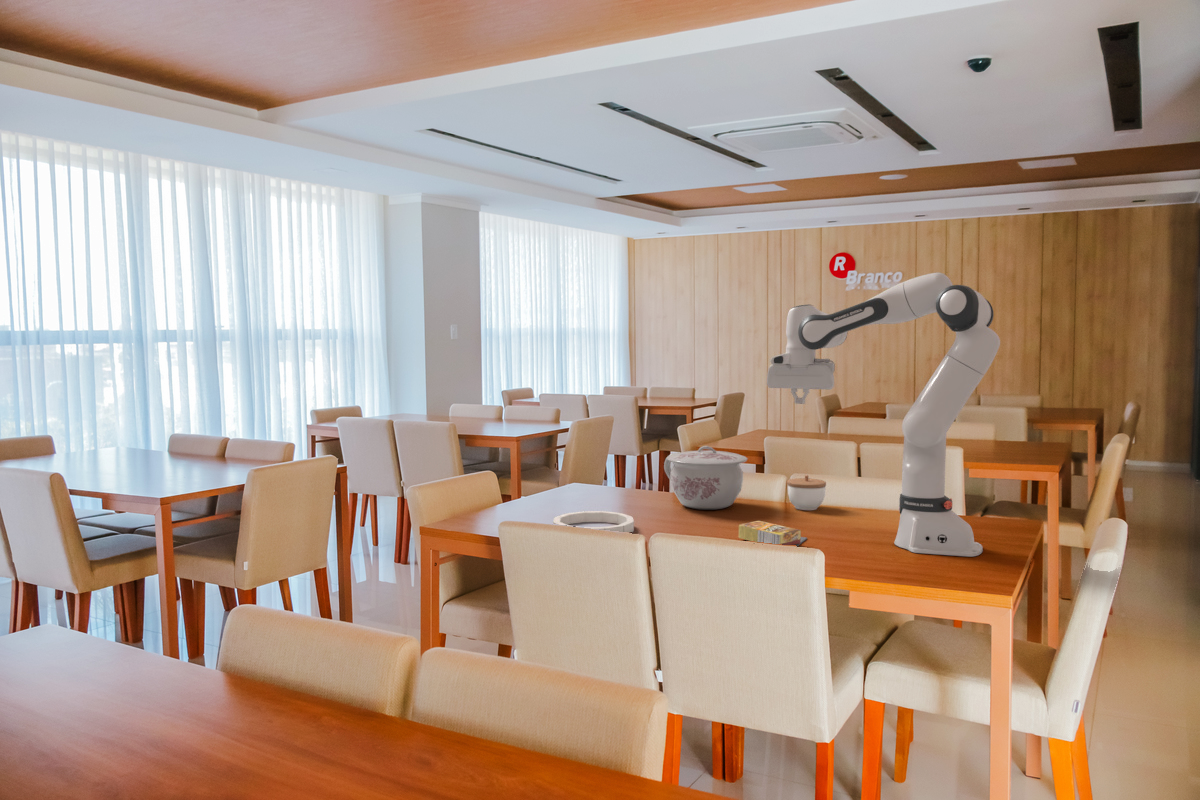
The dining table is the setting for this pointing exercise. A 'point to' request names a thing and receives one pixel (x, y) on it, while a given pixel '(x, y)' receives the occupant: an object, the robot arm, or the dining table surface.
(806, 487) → the lidded bowl
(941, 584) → the dining table surface
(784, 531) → the candy box
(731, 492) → the chamber pot
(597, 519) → the flower saucer rim
